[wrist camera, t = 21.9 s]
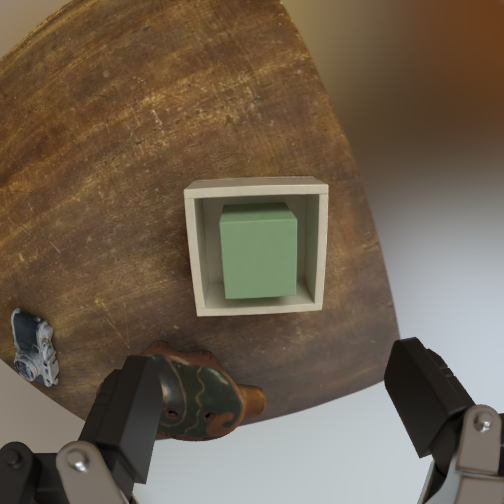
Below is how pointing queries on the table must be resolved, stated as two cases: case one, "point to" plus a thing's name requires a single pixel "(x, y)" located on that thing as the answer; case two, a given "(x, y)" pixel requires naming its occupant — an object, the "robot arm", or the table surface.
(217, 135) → the table surface
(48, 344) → the camera
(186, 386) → the decorative turtle
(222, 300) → the open square box
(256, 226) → the green box
